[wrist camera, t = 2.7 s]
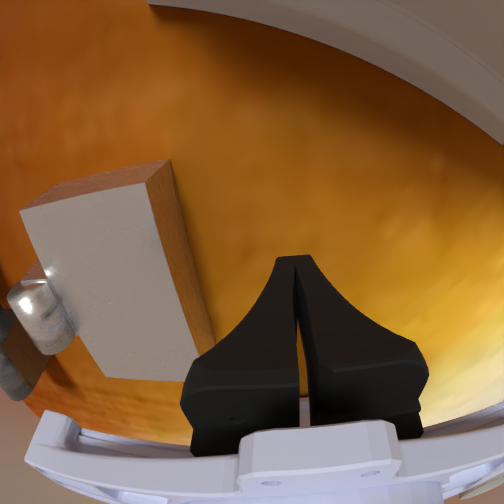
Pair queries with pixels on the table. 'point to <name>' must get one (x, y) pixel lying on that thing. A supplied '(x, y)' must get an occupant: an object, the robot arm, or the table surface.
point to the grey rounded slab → (402, 42)
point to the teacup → (483, 487)
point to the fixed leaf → (18, 358)
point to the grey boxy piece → (115, 274)
